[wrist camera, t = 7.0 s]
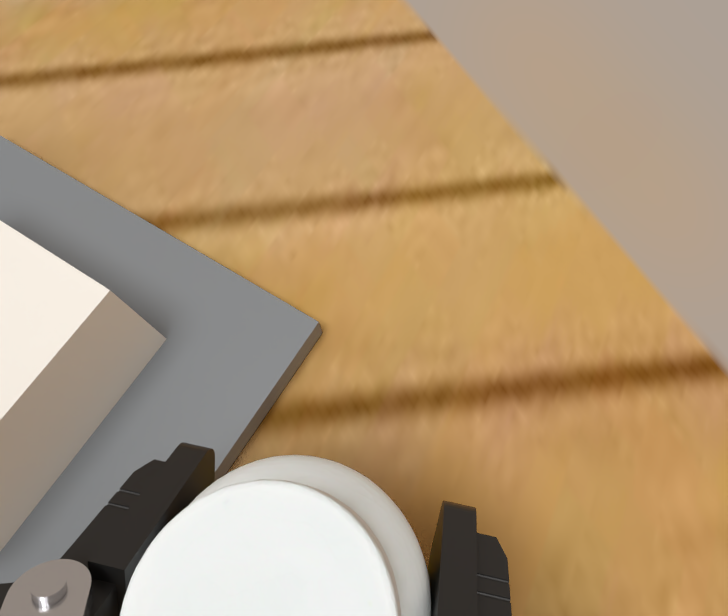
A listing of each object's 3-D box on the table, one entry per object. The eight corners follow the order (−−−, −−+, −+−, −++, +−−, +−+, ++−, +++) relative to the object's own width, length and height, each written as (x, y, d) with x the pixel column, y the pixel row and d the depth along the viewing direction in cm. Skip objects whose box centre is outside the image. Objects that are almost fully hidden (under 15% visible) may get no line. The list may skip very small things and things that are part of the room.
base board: (-298, 440, 21) (-336, 435, 20) (3, 144, 26) (-14, 127, 25) (34, 753, 17) (10, 768, 16) (322, 332, 22) (318, 321, 21)
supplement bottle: (224, 501, 17) (58, 470, 9) (390, 462, 18) (396, 392, 9) (248, 701, 15) (64, 932, 7) (435, 654, 16) (501, 814, 7)
